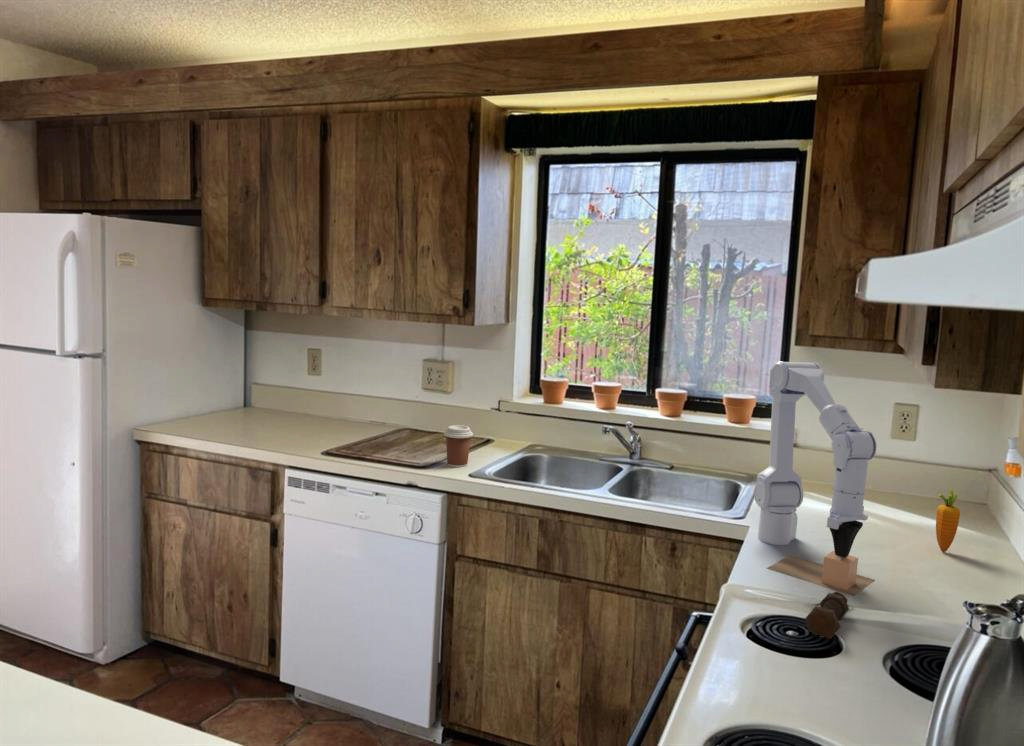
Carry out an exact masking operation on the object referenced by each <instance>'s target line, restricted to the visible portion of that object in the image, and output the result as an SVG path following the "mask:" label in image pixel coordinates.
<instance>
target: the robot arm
mask: <svg viewBox="0 0 1024 746" xmlns="http://www.w3.org/2000/svg"><path fill="white" fill-rule="evenodd" d="M824 381H825V372H824V370H823V369H822V367H821V365H820V364H819V363H818V362H817V361H816V362H815V361H812V362H799V361H797V362H796V361H793V362H792V361H782V360H779V361H777V362H775V363H774V365H773V366H772V367H771V369H770V370H769V385H768V386H769V389H768V391H769V392H768V393H769V396H771V397H772V398H771V399H772V400H771V422H770V437H769V438H770V439H769V442H770V443H769V463H768V464H769V465H768V467H767V468H765V469H764V470H762V471H760V472H759V473H758V474H757V476H756V483H755V486H754V488H753V497H754V501H755V503H756V504H757V506H758V507H759V508H760V511H759V512H760V513H759V522H758V531H757V539H758V540H759V541H761V542H763V543H766V544H769V545H775V546H787V545H790V543H791V542H792V541H793V540H795V539H796V538H797V529H798V528H797V526H798V515H797V508H799V507H801V505H802V503H803V502H804V489H803V484H802V477H801V476H800V475H799V474H798V473H797V472H796V471H795V470H794V469H793V465H794V446H795V445H794V442H795V424H796V423H795V422H796V405H797V404H796V403H797V402H798V401H799V400H800V399H801V398H802V397H804V396H806V397H807V398H808V399H809V400H810V402H811V403H812V404H813V406H815V408H816V409H817V410H818V411H819V418H818V420H819V423H820V424H821V426H822V427H823V429H824V430H825V433H826V434H827V435H828V436H829V438H830V440H831V446H830V447H831V452H832V455H833V459H832V460H833V466H834V467H835V471H834V479H833V480H834V482H833V488H832V490H833V491H832V497H831V505H830V506H831V507H830V509H829V516H828V517H827V520H826V527H827V528H829V531H830V533H831V537H832V541H833V542H832V543H833V549H834V550H833V551H835V555H837V556H840V557H844V558H846V557H848V555H850V552H851V550H852V546H853V544H854V541H855V539H856V537H857V535H858V533H859V532H860V530H861V529H862V528H863V526H864V523H863V522H864V521H867V520H868V518H869V515H868V514H864V511H865V509H864V508H865V506H864V499H865V491H866V482H867V473H868V466H869V465H868V464H869V461H870V460H872V459H873V458H874V457H875V455H876V453H877V440H876V438H875V436H874V434H873V433H872V432H871V431H869V430H864V428H861V427H860V426H859V425H858V424H857V422H856V421H855V419H854V418H853V417H852V415H851V414H850V412H849V411H848V408H846V406H844V405H842V404H836V402H835V400H834V398H833V396H832V395H831V393H830V391H829V390H828V388H827V386H826V384H825V382H824ZM862 521H863V522H862Z"/></svg>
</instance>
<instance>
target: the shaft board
mask: <svg viewBox="0 0 1024 746" xmlns="http://www.w3.org/2000/svg"><path fill="white" fill-rule="evenodd" d="M766 569H768V570H771V571H774V572H776V573H779V574H783V575H787V576H790V577H792V578H796V579H800V580H803V581H806V582H809V583H812V584H815V585H819V586H820V587H824V588H827V589H831V590H834V591H836V592H839V593H844V594H847V595H851V596H853V597H854V596H856V595H857V594H859V593H860V592H861V591H862V590H864V589H865V588H866V587H868V586H869V585H870V584H872V583H873V582H874V581H875V579H873V578H870V577H866V576H863V575H860V574H858V573H857V574H856V582H855V584H854V585H853V586H852V587H850V588H849V589H848V590H844V589H841V588H837V587H834V586H831V585H828V584H824V583H821V581H822V572H823V563H819V562H815V561H812V560H808V559H805V558H802V557H798V556H797V555H796V556H795V555H792V554H789V555H787V556H785V557H784V558H782V559H780V560H779V561H777V562H775V563H773V564H771V565H769V566H768V567H766Z"/></svg>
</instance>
